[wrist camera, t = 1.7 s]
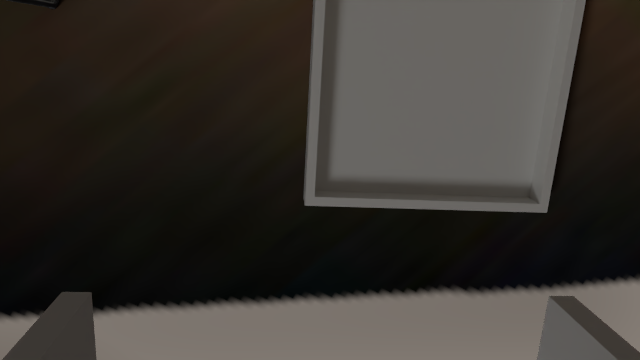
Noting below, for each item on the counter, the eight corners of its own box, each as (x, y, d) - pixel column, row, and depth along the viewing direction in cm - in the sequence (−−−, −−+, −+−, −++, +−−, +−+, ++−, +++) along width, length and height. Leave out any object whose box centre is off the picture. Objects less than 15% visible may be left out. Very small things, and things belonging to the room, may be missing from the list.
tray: (303, 197, 45) (304, 205, 43) (318, -108, 39) (321, -118, 36) (533, 204, 47) (546, 212, 45) (583, -84, 41) (602, -93, 38)
